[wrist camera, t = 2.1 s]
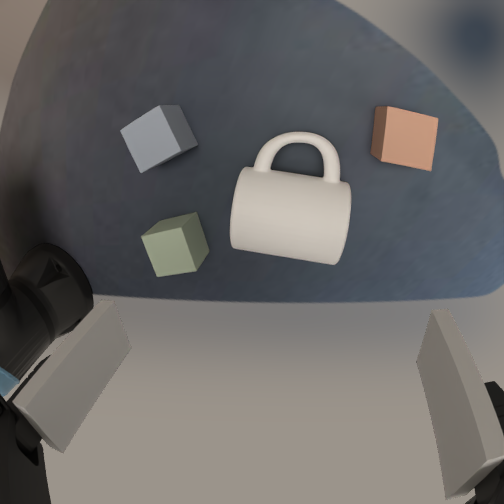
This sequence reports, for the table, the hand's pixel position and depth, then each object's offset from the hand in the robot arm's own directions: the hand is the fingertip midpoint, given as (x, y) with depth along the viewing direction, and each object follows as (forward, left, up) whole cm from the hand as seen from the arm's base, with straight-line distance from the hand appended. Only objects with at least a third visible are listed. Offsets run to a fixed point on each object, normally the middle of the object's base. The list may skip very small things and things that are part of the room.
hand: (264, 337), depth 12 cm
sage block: (-13, -5, -23) cm, 27 cm away
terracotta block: (+11, +6, -23) cm, 26 cm away
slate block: (-13, +7, -23) cm, 28 cm away
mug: (0, +1, -23) cm, 23 cm away
